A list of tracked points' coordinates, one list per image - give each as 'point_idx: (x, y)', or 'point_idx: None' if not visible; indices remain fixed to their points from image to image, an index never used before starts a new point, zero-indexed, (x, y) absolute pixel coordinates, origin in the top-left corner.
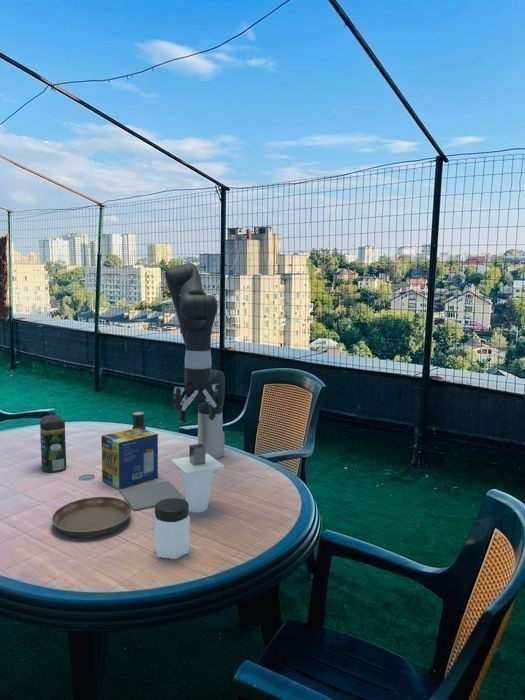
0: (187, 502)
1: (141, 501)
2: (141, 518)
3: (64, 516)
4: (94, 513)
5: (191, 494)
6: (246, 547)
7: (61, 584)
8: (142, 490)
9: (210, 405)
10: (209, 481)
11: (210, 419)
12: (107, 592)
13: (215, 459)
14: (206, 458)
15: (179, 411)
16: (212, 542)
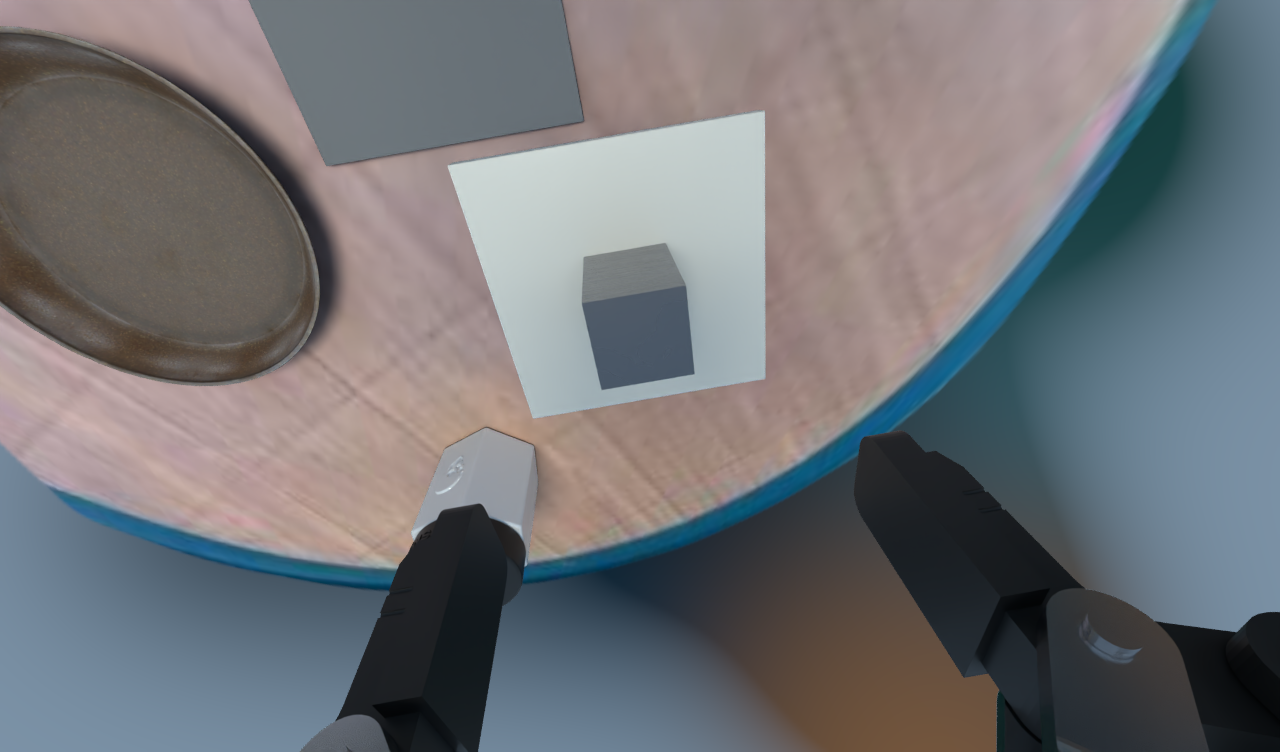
0: (519, 576)
1: (349, 75)
2: (378, 248)
3: None
4: (128, 147)
5: None
6: (684, 486)
7: (229, 532)
8: None
9: (1020, 657)
10: None
11: (857, 476)
12: (351, 567)
13: (763, 259)
14: (714, 222)
15: (352, 696)
16: (608, 451)
